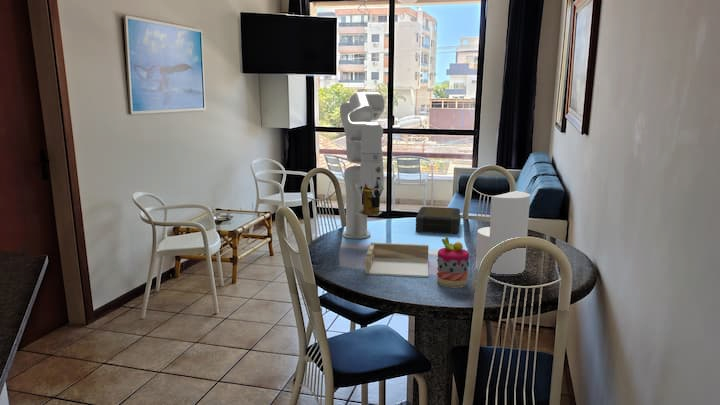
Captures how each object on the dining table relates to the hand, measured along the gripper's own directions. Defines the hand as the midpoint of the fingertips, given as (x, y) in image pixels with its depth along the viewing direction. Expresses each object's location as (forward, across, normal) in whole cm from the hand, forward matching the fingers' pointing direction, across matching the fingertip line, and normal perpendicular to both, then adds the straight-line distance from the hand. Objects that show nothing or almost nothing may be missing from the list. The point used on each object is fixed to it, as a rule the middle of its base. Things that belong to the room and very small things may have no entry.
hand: (370, 205), depth 191 cm
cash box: (+22, +29, -58) cm, 69 cm away
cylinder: (+22, -32, -36) cm, 53 cm away
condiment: (+3, +1, 0) cm, 3 cm away
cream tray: (+22, -11, -5) cm, 25 cm away
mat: (+22, -11, -5) cm, 25 cm away
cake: (+22, -34, -11) cm, 42 cm away
